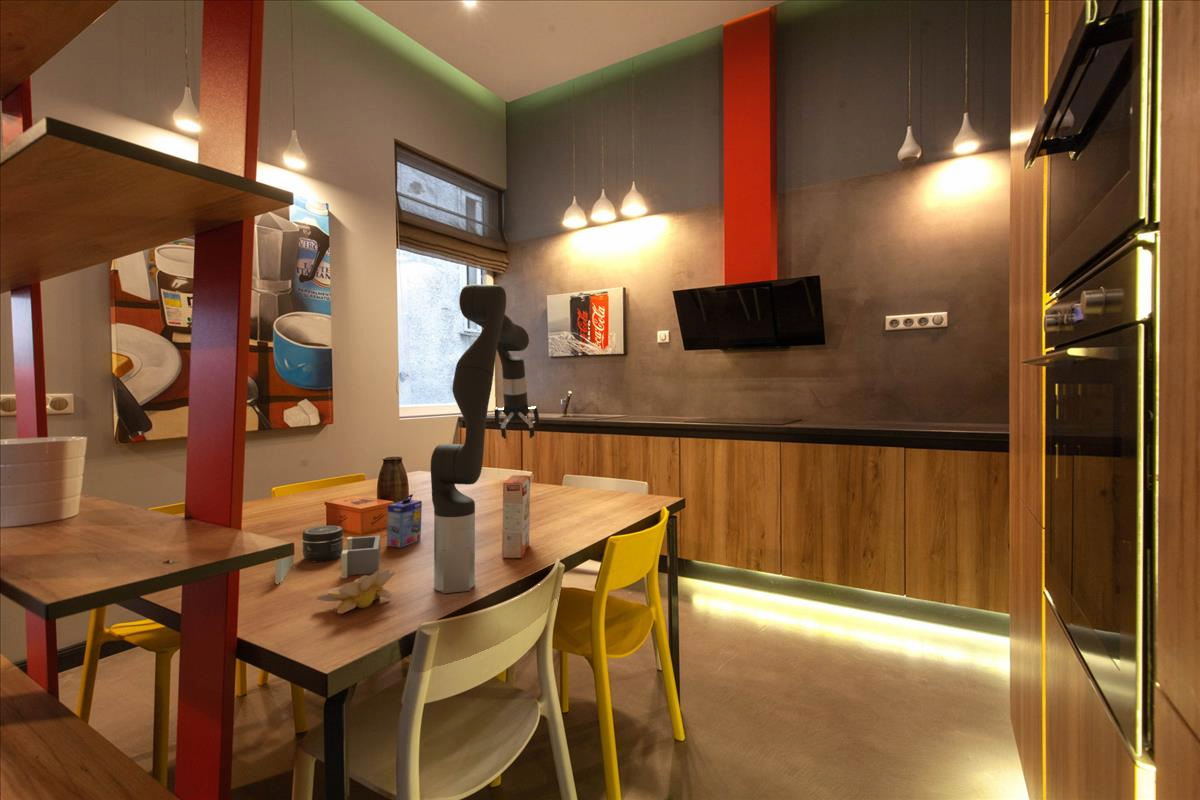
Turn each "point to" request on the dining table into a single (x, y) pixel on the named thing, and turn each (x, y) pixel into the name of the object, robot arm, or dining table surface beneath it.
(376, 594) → the decorative flower
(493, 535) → the dining table surface
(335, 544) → the jar
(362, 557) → the channel
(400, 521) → the ink cartridge box
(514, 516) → the cracker box
